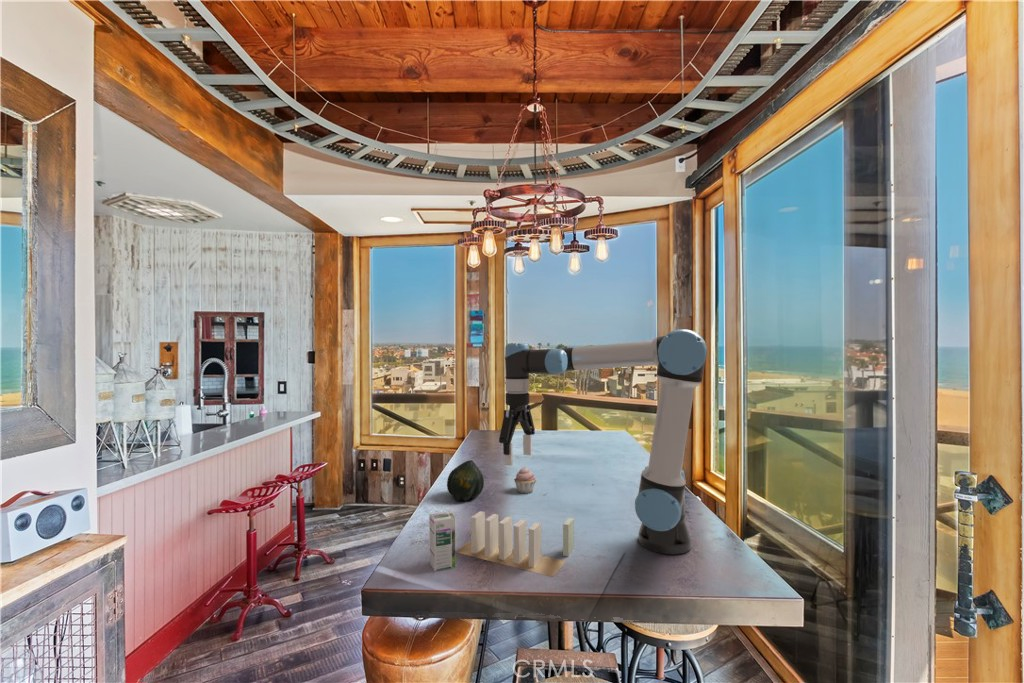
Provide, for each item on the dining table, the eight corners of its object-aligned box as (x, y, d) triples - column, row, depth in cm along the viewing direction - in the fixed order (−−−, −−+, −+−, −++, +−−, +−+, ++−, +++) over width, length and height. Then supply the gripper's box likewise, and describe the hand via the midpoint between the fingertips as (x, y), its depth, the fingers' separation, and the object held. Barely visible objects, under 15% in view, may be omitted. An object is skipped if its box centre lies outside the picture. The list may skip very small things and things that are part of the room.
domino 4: (526, 556, 125) (526, 520, 125) (518, 563, 121) (518, 526, 121) (521, 554, 126) (521, 519, 126) (513, 562, 122) (513, 525, 122)
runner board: (565, 565, 122) (565, 561, 122) (553, 581, 114) (553, 576, 114) (471, 543, 136) (471, 539, 136) (454, 556, 128) (454, 551, 128)
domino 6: (574, 553, 130) (574, 518, 130) (568, 560, 125) (568, 525, 125) (569, 552, 130) (569, 517, 130) (563, 559, 126) (562, 523, 126)
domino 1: (485, 546, 132) (484, 512, 132) (476, 553, 127) (475, 518, 127) (480, 545, 132) (480, 511, 132) (471, 552, 128) (471, 517, 128)
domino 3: (512, 552, 127) (512, 517, 127) (504, 560, 123) (504, 523, 123) (507, 551, 128) (507, 516, 128) (498, 559, 124) (498, 522, 124)
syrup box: (434, 576, 117) (434, 520, 117) (429, 566, 122) (429, 512, 122) (455, 571, 119) (455, 517, 119) (449, 561, 125) (449, 509, 125)
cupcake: (541, 490, 184) (541, 466, 184) (526, 496, 177) (526, 471, 177) (523, 486, 190) (523, 462, 190) (509, 491, 183) (509, 467, 183)
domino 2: (498, 549, 130) (498, 514, 130) (489, 556, 125) (489, 520, 125) (493, 548, 130) (493, 513, 130) (484, 555, 126) (484, 519, 126)
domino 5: (541, 559, 123) (541, 523, 123) (534, 567, 119) (534, 529, 119) (536, 558, 124) (536, 522, 124) (528, 566, 120) (528, 528, 120)
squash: (435, 488, 170) (461, 459, 170) (445, 478, 185) (469, 451, 185) (462, 515, 169) (489, 485, 168) (470, 502, 184) (495, 475, 183)
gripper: (524, 388, 154) (524, 450, 154) (486, 395, 132) (487, 468, 132) (544, 388, 151) (545, 452, 151) (509, 397, 129) (510, 471, 128)
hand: (518, 459), depth 141 cm, fingers open, 13 cm apart
